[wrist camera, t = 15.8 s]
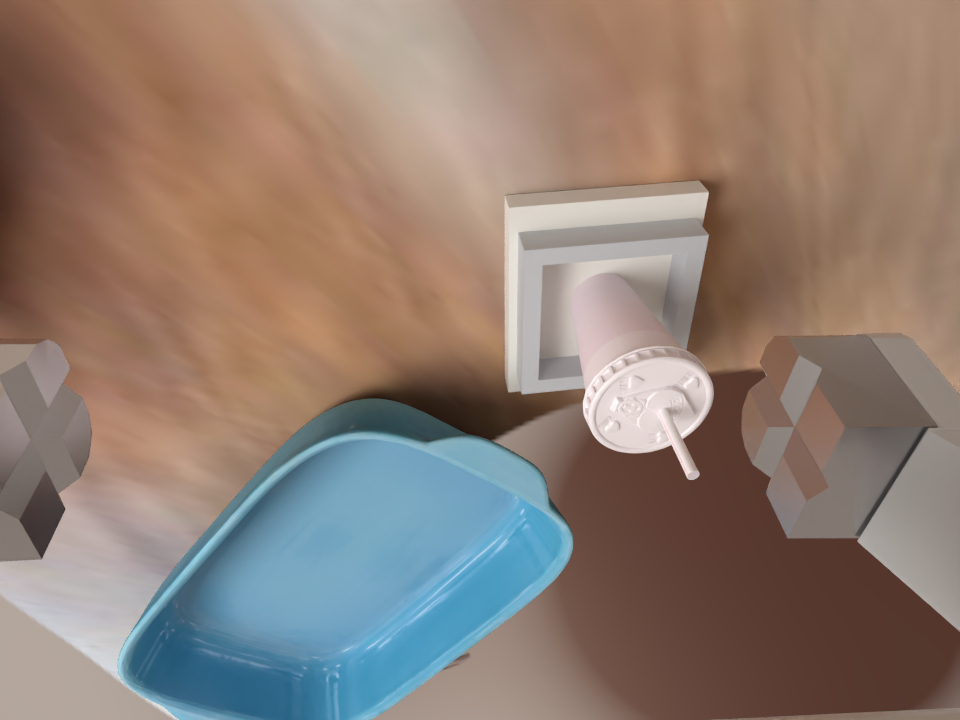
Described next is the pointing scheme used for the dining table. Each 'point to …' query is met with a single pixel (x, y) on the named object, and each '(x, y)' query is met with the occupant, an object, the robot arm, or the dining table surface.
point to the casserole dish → (348, 572)
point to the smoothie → (635, 373)
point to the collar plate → (595, 268)
